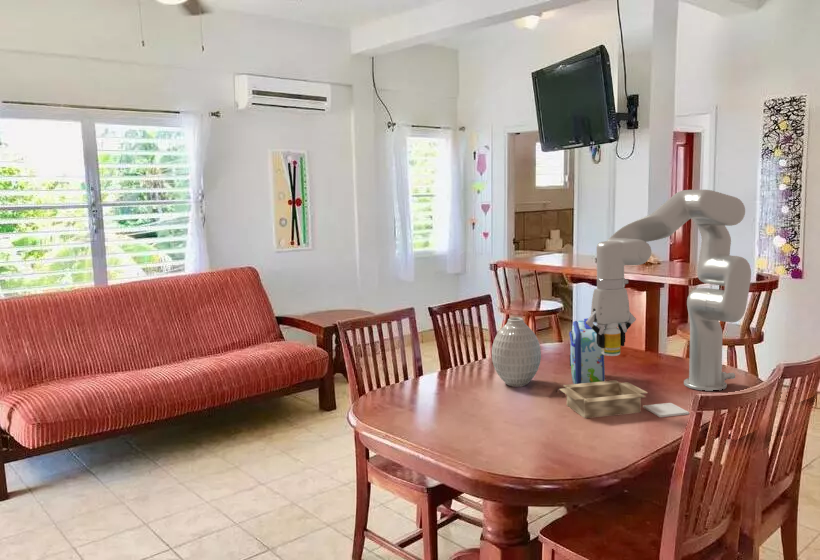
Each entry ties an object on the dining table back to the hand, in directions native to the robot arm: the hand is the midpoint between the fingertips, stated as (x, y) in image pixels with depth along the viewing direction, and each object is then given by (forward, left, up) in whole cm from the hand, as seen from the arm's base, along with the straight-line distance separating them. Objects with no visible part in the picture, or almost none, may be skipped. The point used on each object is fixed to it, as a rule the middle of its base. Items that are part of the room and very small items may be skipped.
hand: (611, 345), depth 195 cm
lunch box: (-5, -26, -19) cm, 32 cm away
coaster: (-14, +6, -19) cm, 24 cm away
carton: (+2, -1, -19) cm, 19 cm away
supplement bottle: (0, 0, -3) cm, 3 cm away
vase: (+17, -33, -19) cm, 42 cm away
